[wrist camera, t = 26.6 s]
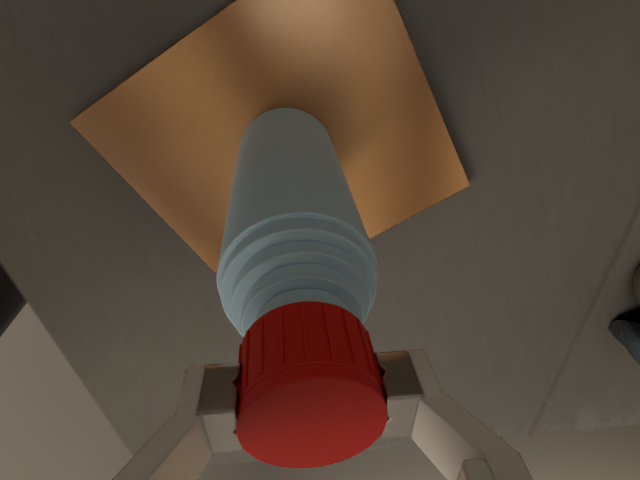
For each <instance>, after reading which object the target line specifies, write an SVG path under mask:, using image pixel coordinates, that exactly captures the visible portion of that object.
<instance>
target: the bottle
mask: <svg viewBox="0 0 640 480" xmlns="http://www.w3.org/2000/svg"><path fill="white" fill-rule="evenodd" d="M377 278H378V265H377V259H376V256H375V253H374V250H373V248H372V245H371V243H370V240H369V238H368V235H367V232H366V230H365V227H364V225H363V222H362V219H361V217H360V214H359V212H358V209H357V206H356V204H355V201H354V199H353V196H352V194H351V191H350V188H349V186H348V183H347V181H346V178H345V175H344V173H343V170H342V168H341V165H340V162H339V160H338V157H337V155H336V152H335V149H334V147H333V144H332V142H331V139H330V137H329V134H328V132H327V130H326V129H325V128H324V126H323V125H322V124H321V123H320V122H319V121H318V120H317V119H316V118H315V117H314V116H312V115H310V114H309V113H307V112H304V111H302V110H299V109H294V108H277V109H272V110H269V111H267V112H264V113H263V114H261V115H259V116H258V117H256V118H255V119H254V120H253V121H252V122H251V123H250V124H249V125H248V126H247V128H246V129H245V131H244V133H243V135H242V138H241V140H240V145H239V150H238V156H237V162H236V167H235V173H234V179H233V184H232V190H231V195H230V201H229V207H228V212H227V218H226V224H225V229H224V235H223V241H222V246H221V252H220V258H219V263H218V269H217V288H218V292H219V295H220V298H221V302H222V306H223V309H224V311H225V313H226V315H227V317H228V319H229V320H230V321H231V323H232V324H233V325H234V326H235V327H236V329H237V330H238V332H239V333H240V334H241V336H242V337H243V338H244V336H245V334H246V331H247V330H248V329H249V328H250V327H251V325H252V324H253V323H254V322H255V321H256V320H257V319H259V318H260V317H261V316H262V315H264V314H266V313H267V312H269V311H271V310H273V309H275V308H277V307H280V306H283V305H286V304H290V303H295V302H303V301H318V302H325V303H330V304H334V305H337V306H340V307H342V308H344V309H346V310H348V311H349V312H351V313H352V314H353V315H355V316H356V317H357V318H358V319H359V320H360V322H361V323H362V325H363V324H364V322H365V320H366V318H367V315H368V313H369V311H370V309H371V307H372V305H373V303H374V300H375V297H376V291H377Z"/></svg>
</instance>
